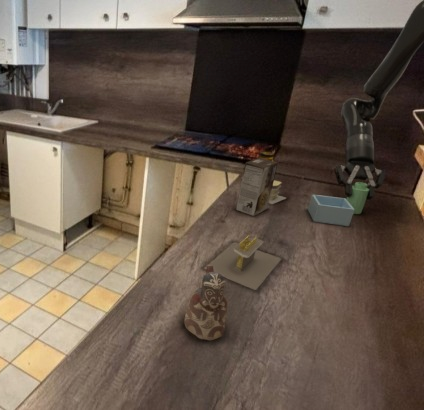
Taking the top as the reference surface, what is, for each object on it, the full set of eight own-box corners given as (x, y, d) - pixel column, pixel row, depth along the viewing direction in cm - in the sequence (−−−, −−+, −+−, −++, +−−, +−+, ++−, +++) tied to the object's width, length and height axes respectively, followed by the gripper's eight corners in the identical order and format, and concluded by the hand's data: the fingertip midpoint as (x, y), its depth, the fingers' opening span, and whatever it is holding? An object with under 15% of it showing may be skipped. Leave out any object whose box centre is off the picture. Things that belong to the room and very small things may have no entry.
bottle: (358, 209, 118) (367, 182, 114) (363, 215, 114) (373, 187, 110) (341, 207, 120) (350, 180, 116) (345, 212, 115) (354, 185, 112)
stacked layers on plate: (262, 190, 133) (265, 176, 131) (286, 198, 126) (290, 183, 124) (247, 196, 128) (250, 181, 125) (272, 204, 121) (276, 189, 119)
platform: (203, 268, 84) (207, 244, 82) (234, 241, 97) (238, 220, 94) (255, 290, 77) (262, 264, 74) (281, 258, 89) (288, 235, 86)
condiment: (272, 185, 138) (279, 155, 133) (249, 184, 138) (255, 154, 134) (265, 179, 144) (271, 150, 140) (243, 178, 145) (249, 149, 140)
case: (340, 214, 114) (345, 198, 112) (348, 226, 106) (354, 209, 104) (307, 209, 117) (312, 194, 115) (313, 221, 109) (318, 204, 107)
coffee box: (249, 203, 122) (258, 157, 115) (267, 209, 117) (279, 161, 111) (235, 209, 116) (244, 162, 110) (254, 216, 112) (265, 167, 105)
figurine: (185, 336, 64) (194, 281, 59) (182, 310, 71) (190, 258, 66) (227, 342, 63) (239, 286, 58) (220, 315, 69) (231, 263, 65)
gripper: (338, 142, 117) (338, 189, 112) (391, 147, 113) (393, 195, 107) (330, 154, 124) (328, 198, 118) (379, 159, 120) (380, 205, 114)
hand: (359, 197), depth 113 cm, fingers closed on bottle, 5 cm apart
